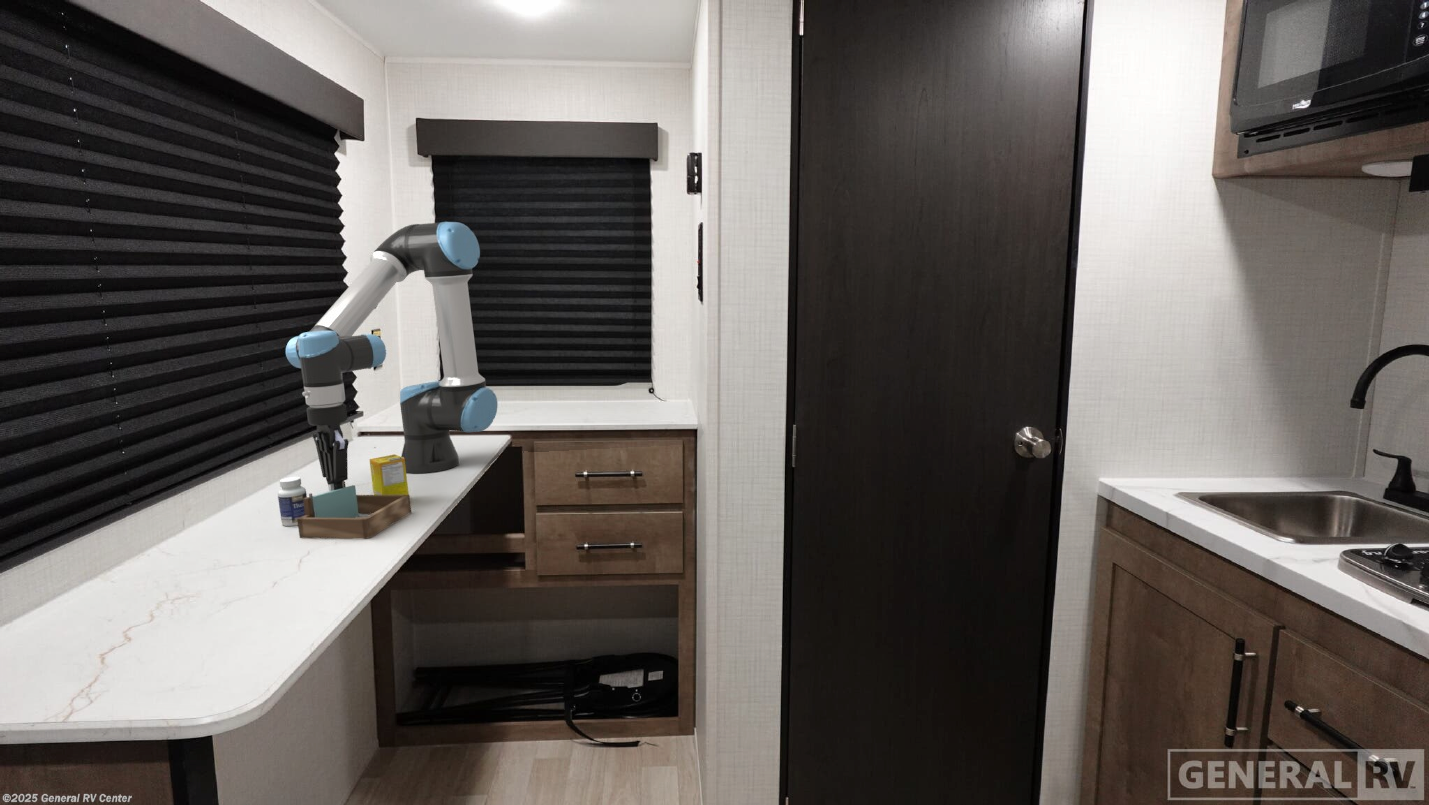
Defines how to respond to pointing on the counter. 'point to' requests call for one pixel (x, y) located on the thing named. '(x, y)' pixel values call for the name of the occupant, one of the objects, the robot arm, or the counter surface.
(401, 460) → the supplement box
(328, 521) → the wooden square frame
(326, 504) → the teal rectangular panel
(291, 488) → the pill bottle
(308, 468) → the counter surface
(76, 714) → the counter surface
